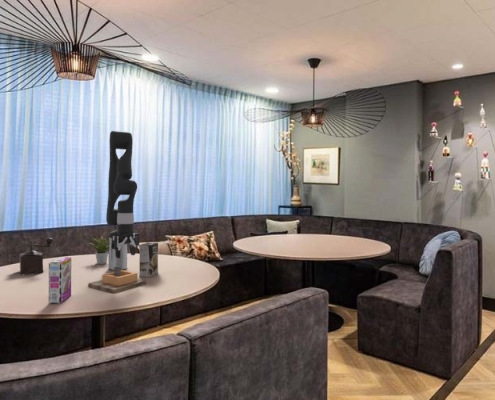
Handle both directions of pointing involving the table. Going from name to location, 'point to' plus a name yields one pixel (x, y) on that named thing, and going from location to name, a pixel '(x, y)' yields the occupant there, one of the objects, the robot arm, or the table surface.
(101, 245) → the house plant
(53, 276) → the candy bar box
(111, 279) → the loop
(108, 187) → the robot arm
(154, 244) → the coffee box
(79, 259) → the table surface
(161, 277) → the table surface
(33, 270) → the manual coffee grinder
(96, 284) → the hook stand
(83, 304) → the table surface
